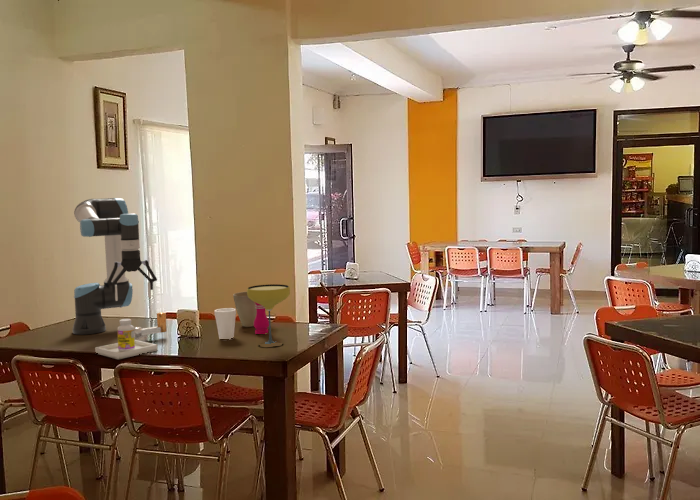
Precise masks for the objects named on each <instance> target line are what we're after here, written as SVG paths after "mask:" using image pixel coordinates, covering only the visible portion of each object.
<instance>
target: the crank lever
mask: <svg viewBox="0 0 700 500" xmlns="http://www.w3.org/2000/svg"><path fill="white" fill-rule="evenodd" d="M156 323H157V324H156V326H149V327H143V328H142V327H141V326H134V334H135V337H138V336H142V335H147V336H148V335H155V334H159V333H166V332H167V327H168V326H167V313H166V312H157V313H156Z"/></svg>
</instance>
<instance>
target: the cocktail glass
mask: <svg viewBox="0 0 700 500" xmlns="http://www.w3.org/2000/svg"><path fill="white" fill-rule="evenodd" d="M246 292H247V295H248V298H249V299H251V300H252V301H254V302H256V303H258V304H260V305H262V306H264V307H265V311H268V320H269V327H268V331H269V333H268V340H267V341H264V342H265V344H271V343H275V342H276V341H275V342H274V340H273V337H272V325H271V324H272V323H271V311H272V310H273V309H274V308H275V306H277V305H278V304H279V303H282V302H283V301H285V300H286V299H288V297H290V293H291V289H290V286H289V285H287V284H278V283H277V284H276V283H275V284H271V283H270V284H259V285H252V286H248V287H247V290H246Z"/></svg>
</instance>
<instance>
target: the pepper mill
mask: <svg viewBox="0 0 700 500" xmlns="http://www.w3.org/2000/svg"><path fill="white" fill-rule="evenodd" d="M255 304H256V305H255V306H256V307H255V308H256V310H257V314H256V318H255V320H254V326H253V327H254V328H255V329H254V335H256V334H265V333H268V332H269V317H268V316H267V314H266V309H265V307H264V306H262V305H260V304H258V303H256V302H255ZM268 334H269V333H268ZM265 335H266V334H265Z"/></svg>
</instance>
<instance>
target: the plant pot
mask: <svg viewBox="0 0 700 500" xmlns="http://www.w3.org/2000/svg"><path fill="white" fill-rule="evenodd" d="M232 296H233V297H232V298H233V302H234V306H235V309H236V314H237V316H238V318H239V321H240V324H241V326H242V327H245V328H248V327H249V328H251V327H254V320H255V318H256V314H257V310H256V308H255V307H256V306H255V305H256V304H255V302H254V301H252V300H251V299H249V298H248V295H247V291H241V292H236V293H233V295H232Z"/></svg>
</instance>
